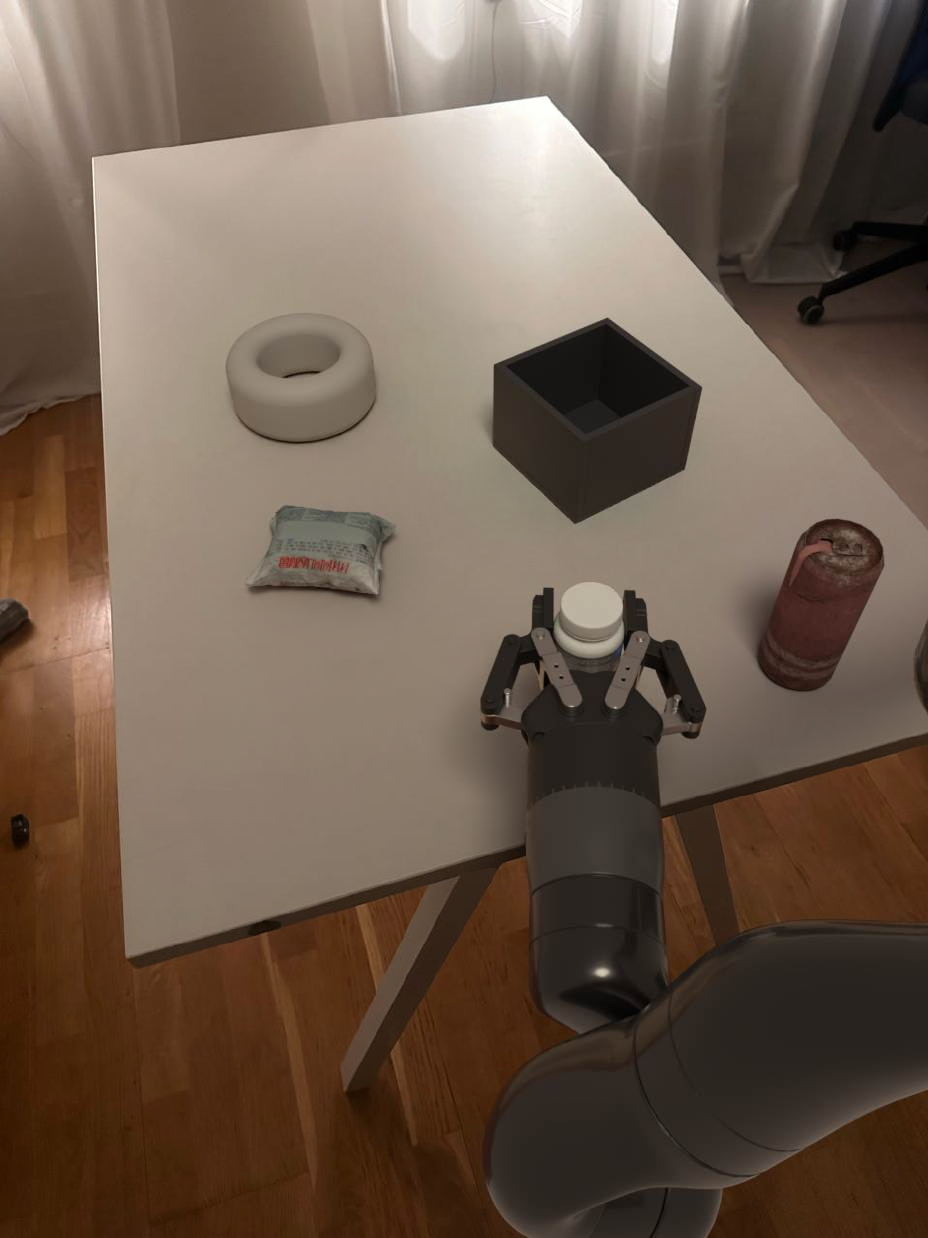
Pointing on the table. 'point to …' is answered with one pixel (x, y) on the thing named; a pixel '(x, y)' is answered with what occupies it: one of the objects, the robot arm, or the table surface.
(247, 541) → the table surface
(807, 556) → the can
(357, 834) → the table surface
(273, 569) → the packaged food
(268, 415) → the donut shape
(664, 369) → the trash bin
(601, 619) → the pill bottle
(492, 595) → the table surface
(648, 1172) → the robot arm
